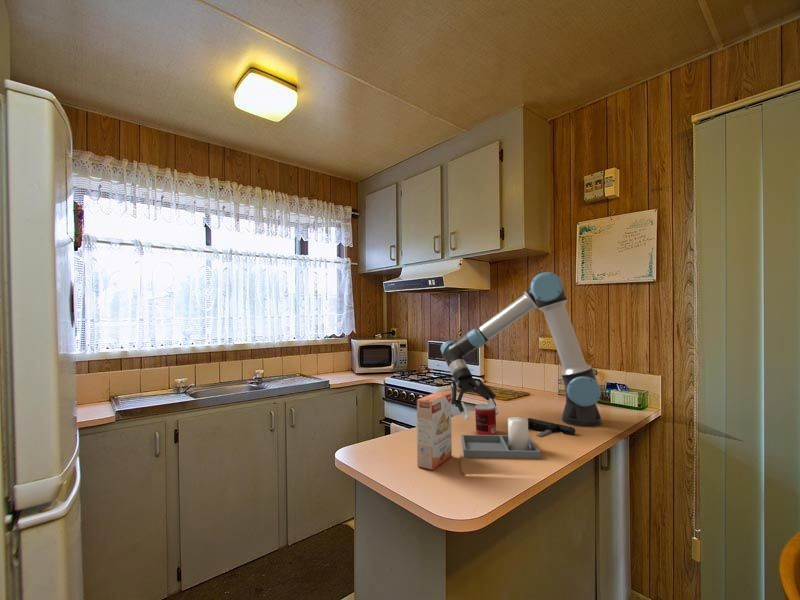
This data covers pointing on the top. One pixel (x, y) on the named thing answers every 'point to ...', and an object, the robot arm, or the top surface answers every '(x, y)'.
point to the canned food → (485, 419)
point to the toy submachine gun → (548, 427)
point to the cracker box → (434, 430)
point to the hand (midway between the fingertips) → (482, 416)
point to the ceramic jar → (518, 434)
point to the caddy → (495, 447)
